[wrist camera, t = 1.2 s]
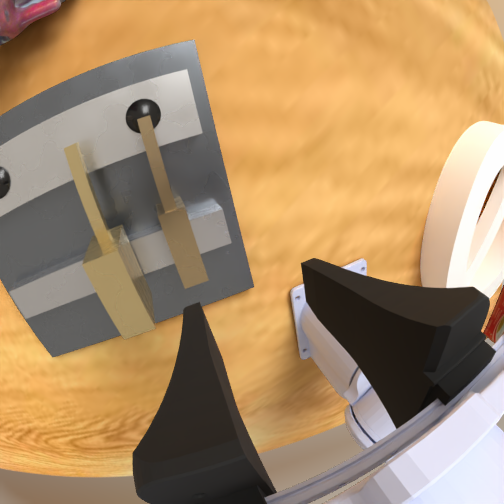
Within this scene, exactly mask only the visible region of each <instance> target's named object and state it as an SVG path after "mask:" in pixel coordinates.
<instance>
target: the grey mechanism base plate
mask: <svg viewBox="0 0 504 504" xmlns="http://www.w3.org/2000/svg"><path fill="white" fill-rule="evenodd" d="M77 142H79V146H80V149H81V152H82V155H83V159H84V162H85V165H86V168H87V171H88V174H89V177H90V180H91V183H92V185H93V188H94V191H95V194H96V196H97V199H98V202H99V204H100V207H101V210H102V212H103V215H104V217H105V220H106V222H107V225H108V227H109V229H112V228H114V227H117V226H119V225H123V228H124V230H125V233H126V235H127V238H128V240H129V242H130V245H131V247H132V250H133V252H134V254H135V257H136V259H137V261H138V264H139V266H140V268H141V271H142V273H143V275H144V277H145V279H146V282H147V284H148V286H149V288H150V290H151V292H152V300H153V309H154V317H155V323H158V322H161V321H163V320H166V319H169V318H172V317H175V316H177V315H180V314H183V310H184V308H185V307H187V306H189V305H192V304H195V303H198V302H200V304H201V307H202V306H205V305H208V304H210V303H213V302H216V301H218V300H221V299H224V298H226V297H229V296H232V295H234V294H237V293H240V292H242V291H245V290H247V289H250V288H253V287H254V284H253V280H252V276H251V272H250V268H249V264H248V260H247V256H246V252H245V248H244V244H243V240H242V236H241V232H240V228H239V224H238V220H237V215H236V211H235V207H234V203H233V199H232V195H231V191H230V187H229V183H228V179H227V174H226V170H225V166H224V162H223V158H222V154H221V150H220V145H219V141H218V137H217V133H216V129H215V125H214V120H213V116H212V112H211V108H210V104H209V100H208V95H207V91H206V87H205V83H204V78H203V74H202V70H201V66H200V61H199V57H198V53H197V49H196V44H195V40H190V41H185V42H181V43H176V44H172V45H168V46H164V47H160V48H156V49H153V50H149V51H145V52H142V53H139V54H135V55H132V56H129V57H126V58H123V59H120V60H117V61H114V62H111V63H108V64H105V65H103V66H100V67H97V68H95V69H92V70H90V71H87V72H85V73H82V74H80V75H78V76H75V77H73V78H71V79H68V80H66V81H64V82H62V83H60V84H58V85H56V86H53V87H51V88H49V89H47V90H45V91H43V92H41V93H39V94H38V95H36V96H34V97H32V98H30V99H28V100H26V101H25V102H23V103H21V104H19V105H18V106H16V107H14V108H13V109H11V110H9V111H8V112H6V113H4V114H3V115H1V116H0V279H1V281H2V283H3V285H4V286H5V288H6V290H7V291H8V293H9V295H10V296H11V298H12V300H13V301H14V303H15V305H16V306H17V308H18V309H19V311H20V312H21V314H22V316H23V317H24V319H25V320H26V322H27V323H28V324H29V326H30V327H31V329H32V330H33V332H34V333H35V334H36V336H37V337H38V339H39V340H40V341H41V343H42V344H43V345H44V347H45V348H46V349H47V351H48V352H49V353H50V355H51V356H52V357H55V356H59V355H62V354H65V353H68V352H71V351H74V350H78V349H81V348H84V347H87V346H90V345H93V344H96V343H99V342H102V341H105V340H108V339H111V338H114V337H117V336H120V335H121V334H120V332H119V330H118V329H117V327H116V326H115V324H114V322H113V321H112V319H111V317H110V316H109V314H108V312H107V310H106V309H105V307H104V305H103V303H102V302H101V300H100V298H99V296H98V294H97V293H96V291H95V289H94V287H93V285H92V283H91V281H90V280H89V278H88V276H87V274H86V272H85V270H84V268H83V266H82V263H83V260H84V257H85V254H86V252H87V249H88V246H89V244H90V241H91V238H92V236H94V235H95V233H94V231H93V229H92V226H91V224H90V221H89V219H88V216H87V214H86V211H85V209H84V206H83V204H82V201H81V198H80V196H79V193H78V190H77V188H76V185H75V182H74V179H73V176H72V173H71V170H70V167H69V164H68V161H67V158H66V155H65V152H64V148H66V147H68V146H70V145H72V144H75V143H77Z"/></svg>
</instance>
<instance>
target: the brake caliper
mask: <svg viewBox="0 0 504 504" xmlns="http://www.w3.org/2000/svg"><path fill="white" fill-rule="evenodd" d="M64 1H65V0H0V45H2V44H4V43H6V42H8V41H10V40H12V39H13V38H15V37H16V36H18V35H19V34H20V33H21V32H22V31H23V30H24V29H25V28H26V27H27V26H28V25H30V24H31V23H32V22H34V21H36V20H38V19H40V18H43V17H46V16H48V15H50V14H52V13H54V12H56V11H57V10H59V8H60V6H61V3H62V2H64Z"/></svg>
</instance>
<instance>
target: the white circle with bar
mask: <svg viewBox="0 0 504 504" xmlns="http://www.w3.org/2000/svg"><path fill="white" fill-rule="evenodd" d="M500 169H501V171H500V174H499V176H498V179H497V181H496V184H495V186H494V188H493V191H492V193H491V195H490V198H489V200H488V202H487V204H486V207H485V209H484V211H483V213H482V215H481V217H480V219H479V221H478V218H479V215H480V212H481V209H482V206H483V203H484V201H485V198H486V196H487V193H488V191H489V189H490V187H491V185H492V183H493V181H494V179H495V177H496V175H497V174H498V172H499V170H500ZM477 221H478V223H477ZM476 224H477V225H476ZM420 273H421V282H422V287H432V288H458V287H475V288H476V289H478V290H479V291H480V292H482V293H483V294H485V295H486V296H487V297H489V299H490V298H491V297H492V295H493V294H494V293H495V291H496V290H497V289H498V287H499V286H500V284H501V283H502V281H503V279H504V125H500V124H496V123H492V122H488V121H480V122H477V123H475V124H473V125H472V126H470V127H469V128H468V129H467V130H466V131H465V132H464V133H463V134H462V136H461V137H460V138H459V140H458V141H457V143H456V144H455V146H454V147H453V149H452V151H451V153H450V155H449V157H448V159H447V161H446V163H445V165H444V167H443V170H442V172H441V175H440V177H439V180H438V183H437V185H436V188H435V191H434V194H433V198H432V201H431V204H430V208H429V212H428V216H427V220H426V225H425V229H424V235H423V241H422V249H421V260H420Z"/></svg>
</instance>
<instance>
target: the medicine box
mask: <svg viewBox="0 0 504 504" xmlns="http://www.w3.org/2000/svg"><path fill="white" fill-rule="evenodd" d="M483 334H485V335H486V336H487V337H488V338H489V339H490V340H491V341H492V342H494V343H496V342H497V341H498V340H499V338H500V337H501V336H502V335H503V334H504V285H503V288H502V291H501V293H500V296H499V298H498V301H497V303H496V306H495V308H494V310H493V313H492V315H491V317H490V320H489V322H488V324H487V326H486V328H485V331H484V333H483Z"/></svg>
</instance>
